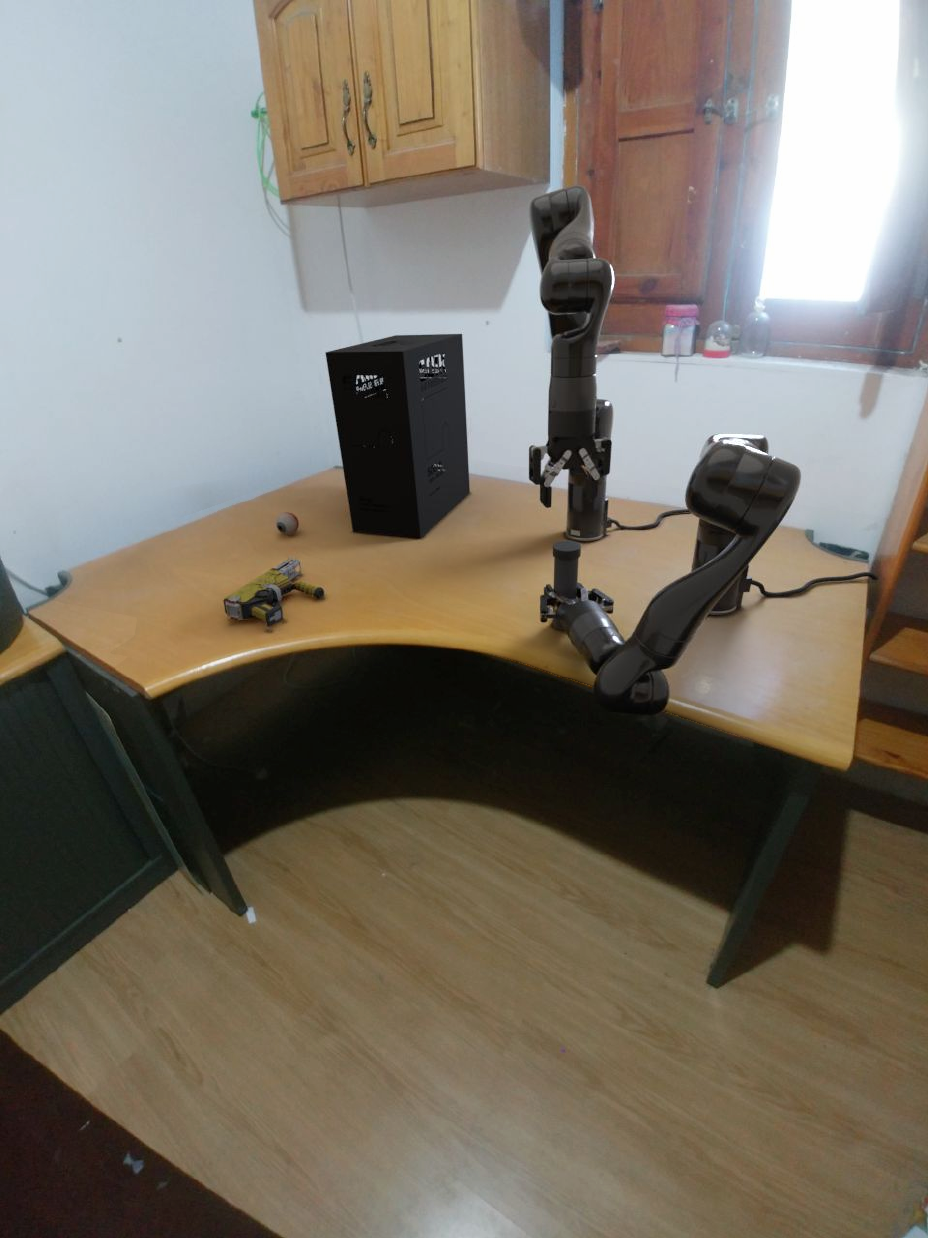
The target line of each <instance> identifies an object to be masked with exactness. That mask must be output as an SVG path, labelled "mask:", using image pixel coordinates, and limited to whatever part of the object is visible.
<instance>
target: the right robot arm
mask: <svg viewBox="0 0 928 1238" xmlns="http://www.w3.org/2000/svg"><path fill="white" fill-rule="evenodd" d="M769 448H770V446H769V441H768V439H767V437H766V436H764V435H760V434H741V433H740V434H739V433H716V434H713V435H710V436H709V437H708V438H707V439H706V440H705V441H704V444H703V446H702V448H701V451H700V455H699V460H698V462H697V463H696V465H695V466H694V468H693V470H692V472H691V474H690V476H689V479H688V482H687V484H686V489H685V493H684V494H685V495H684V500H685V501H684V503H685V506H686V509H688V510H689V511H690V512H689V513H690V514H692V515H693V516H695V517H696V518H698V522H697V523H698V524H697V530H696V537H695V543H694V550H693V557H692V563H691V569H690V572H689V573H687V574H684V575H683V576H681V577H679V578H677V579H676V580H674V581H672V582H670V583H669V584H667V585H666V586H664V587H663V588H661V589H660V590H659V591H658V592H657V593H655V595H654V596H653V597H652V599H651V600H650V602H649V603H648V605H646V608H645V610H644V611H643V613H642V616H641V617H640V619H639V621H638V623H637V624H636V627H635V629H634V630H633V632H632V635H630V637H628V638H627V639H626V640H625V638H624V637H623V636H622V634H621V633H620V631H619V628H618V627H617V625H616V624H615V623H614V621H613V620H612V619H611V617H610V616H609V615H612V614H614V607H615V606H614V605H615V600H614V599H613V598H612V597H610V596H609V595H607V594H605V593H604V592H602V590H600V589H598V588H591V589H590V590H588V588H587V587H585V586H584V585H583V584H582V583H580V582H578V581H577V598H576V599H567V598H566V597H564V596H563V595H557V594H556V593H555V591H554V587H553V586H552V585H551V584H550V583H547V584H545V586H543V594H540V596H539V621H540V622H541V623H543V624H544V623H547V622H548V620H549V619H550V620H551V619H552V620H553V619H556V621H558V622H560V623H561V624H562V626H563V629H564V630H563V631H564V632H565V634H566V635H567V637H568V639H569V641H570V643H571V645H572V646H573V647H574V649H575V650H576V652H577V653H578V654H579V655H580V656H581V658H582V659H583V661H584V662H585V663H586V665H587V666H588V668H589V671H591V672H592V674H593V675H594V676H595V678H594V682H593V696H594V700H595V701H596V703H597V704H598V706H599V707H600V708H602V709H603V710H605V711H606V712H611V713H616V714H617V713H618V714H630V715H637V716H639V715H640V716H654V715H657V714H660V713H661V712H662V711H664V710H665V709H666V707H667V706H668V704H669V702H670V698H671V689H670V688H671V687H670V684H669V680H668V678H667V677H666V676H667V675H666V674H665V673H664V672H663V671H664V670H669V669H671V668H673V667H675V666H676V665H677V663H678V662H679V661H680V659H681V658H682V656H683V655H684V653H685V651H686V650H687V648H688V646H689V645H690V644H691V641H692V640H693V638H694V637H695V635H696V633H697V632H698V630H699V629H700V627H701V626H702V624H703V622H704V621H705V619H707V616H727V615H730V614H733V613H734V612H736V610H739V609H742V602H743V598H744V593H750V591H751V587H752V586H755V587H757V588H758V589H759V592H760V594H761V595H763V596H765V597H769V598H779V597H781V598H782V597H789V596H793V595H797V594H801V593H803V592H806V590H808V589H810V587H812V586H813V585H816V584H820V583H828V582H829V583H830V582H843V581H851V580H856V579H859V578H864V577H867V578H870V579H872V580H874V581H878V580H879V578H878V576H877V575H876V574H875V573H874V572H870V571H863V572H858V573H857V572H856V573H854V574H849V575H841V576H825V577H819V578H814V579H811V580H809V581H808V582H807V583H805V584H804V585H803V586H801V587H798V588H794V589H790V590H786V591H777V592H771V591H767V590H766V589H765V586H764V584H763V583H762V582H760V581H758V580H755V579H753V577H751V576H750V575H748V574H749V569H750V563H751V562H752V560H753V559H754V558H755V557H756V555H757V554H758V553H759V551H760V550H761V549H762V548H763V547H764V545H765V544H766V543H767V541H768V540H769V539H770V538H771V536H772V535H773V534H774V533H775V531H776V530H777V528H778V527H779V526H780V524H781V523H782V522H783V520H784V518H785V517H786V515H787V514H788V512H789V510H790V508H791V506H792V505H793V503H794V501H795V499H796V496H797V493H798V492H799V488H800V486H801V481H802V472H801V469H800V468H799V467H798V466H797V465H796V464H794V463H791V462H790V461H787V460H784V459H782V458H779V457H777V456H775V455H772V454H769V451H770V449H769ZM551 608H552V609H551ZM553 609H554V611H555V612H554V611H553Z"/></svg>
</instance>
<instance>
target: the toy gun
mask: <svg viewBox="0 0 928 1238" xmlns="http://www.w3.org/2000/svg"><path fill="white" fill-rule="evenodd" d="M301 565H302V564H301V561H300V560H299V559H297V558H296V559H293V558H292V557H289V558H287V559H286V560H285V561H283V562H282V563H280V564H278V565H276V567H271V568H270V569H269V570H267V571H265V572H264V573H263V574H260V575H259V576H258V577H256V578H254V579H253V580H251V581H249V582H248V583H246V584H245V585H243V586H242V587H240V588H238V589H237V590H235V591H234V592H232V593H231V594H229V595H227V596H226V597H224V598H223V601H222V602H223V607H224V613H225V615H226V616H227V617H229V618H230V620H232V621H233V620H234V621H235V622H236V621H239V620H242V621H246V620H251V619H255V618H258V619H261V620H263V621H264V622H265V624H266V627H267V628H270V627H272V626H274V625H276V624H277V623H279V622H281V621H283V620H284V613H283V606H282V605H281V602H282V599H283V596H286V595H287V594H289V593H291V592H292V591H297V592H299V593H302V594H305V595H309V596H310V597H313V598H315V599H316V600H319V599H322V598H323V597H324V596H325V590H324V588H323V587H321V586H320V587H319V586H316V585H315V584H310V583H308V582H306V581H302V580H300V579H299V580H296V581H295V582H292V581H291V580H293V579H295V578H296V577H297V576H299V575H301V574H302V567H301ZM297 567H299V570H298V571H297V570H296V568H297Z"/></svg>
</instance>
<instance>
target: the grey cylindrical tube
mask: <svg viewBox="0 0 928 1238" xmlns="http://www.w3.org/2000/svg"><path fill="white" fill-rule="evenodd" d="M579 558H580V557H579ZM579 558H577V559H574V560H559V559H556V558H555V557H553V559H554V562H553V589H554V591H555V593H556V594H557V595H563V596H564V597H566V598H567V599H576V598H577V582H578V577H579ZM552 611H554V609H553V608H552ZM554 612H555V611H554ZM552 627H554V628H555V629H557V630H560V631H564V629H563V626H562V624H561V623H560V622H558V621H556V619H552Z"/></svg>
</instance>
